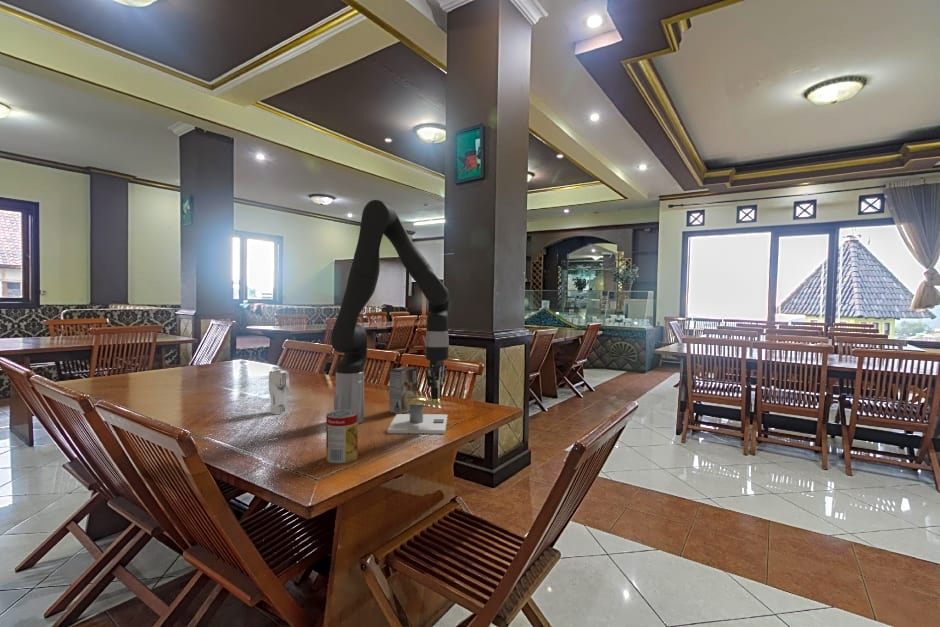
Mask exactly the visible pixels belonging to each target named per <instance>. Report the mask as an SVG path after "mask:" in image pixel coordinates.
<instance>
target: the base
mask: <svg viewBox="0 0 940 627" xmlns="http://www.w3.org/2000/svg"><path fill="white" fill-rule="evenodd" d="M447 417H448V414H440V413H439V414H437V413H436V414H433V413H432V414H431V413H429V414H428V413H426V414H425V413H424V404H423V405H410V412H409V413H404V414H397V413H396V414H395V416H394V417H393V419H392V421H391V422H390V424H389V426H388V428H387V431H386V432H387V434H408V433H410V435H411V434H412V433H413V434H414V433H415V434H416V435H417V433H418V434H420V433H421V434H423V433H424V434H423V435H431V434H432V435H445V434H446V433H445V432H446V429H447V423H448V418H447ZM426 433H427V434H426ZM415 434H414V435H415Z"/></svg>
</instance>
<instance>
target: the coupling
mask: <svg viewBox="0 0 940 627" xmlns="http://www.w3.org/2000/svg"><path fill="white" fill-rule="evenodd" d="M406 404H409V405H423V406H424V405H428V406H435V407H440V406H441V405H442V400H441V397H440V380H439V383H438V399H429V398H428V397H426V396H424V395H417V396H409V397H407V398H406Z"/></svg>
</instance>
